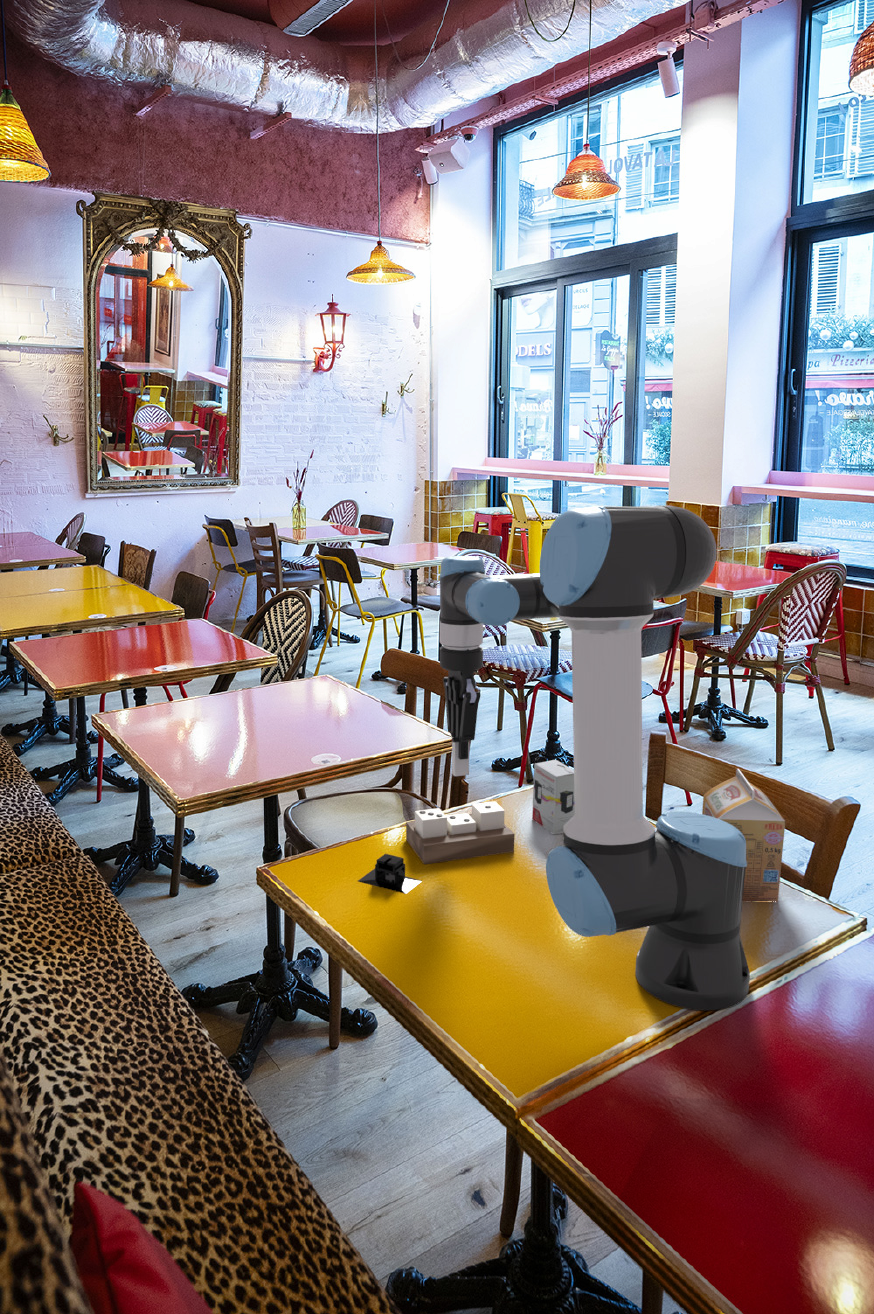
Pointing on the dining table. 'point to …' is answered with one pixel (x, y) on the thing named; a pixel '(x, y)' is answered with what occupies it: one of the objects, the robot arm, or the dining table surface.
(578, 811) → the robot arm
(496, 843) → the board
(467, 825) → the tile two
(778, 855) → the milk carton
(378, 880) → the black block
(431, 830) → the tile three
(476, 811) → the tile one
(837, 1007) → the dining table surface
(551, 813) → the ink box
